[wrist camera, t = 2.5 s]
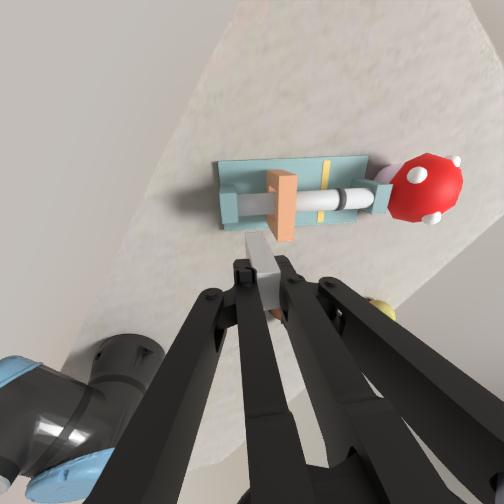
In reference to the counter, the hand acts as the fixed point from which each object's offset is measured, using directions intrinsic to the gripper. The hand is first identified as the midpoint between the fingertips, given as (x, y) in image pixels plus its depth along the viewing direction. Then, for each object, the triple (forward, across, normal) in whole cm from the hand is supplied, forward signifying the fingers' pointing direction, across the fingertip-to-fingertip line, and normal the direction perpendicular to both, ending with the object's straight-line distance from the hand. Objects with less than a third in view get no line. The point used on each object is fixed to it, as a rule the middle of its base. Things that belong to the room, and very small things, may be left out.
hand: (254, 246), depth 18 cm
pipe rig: (+22, +10, 0) cm, 24 cm away
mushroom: (+22, +29, +1) cm, 36 cm away
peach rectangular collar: (+20, +6, 0) cm, 21 cm away
